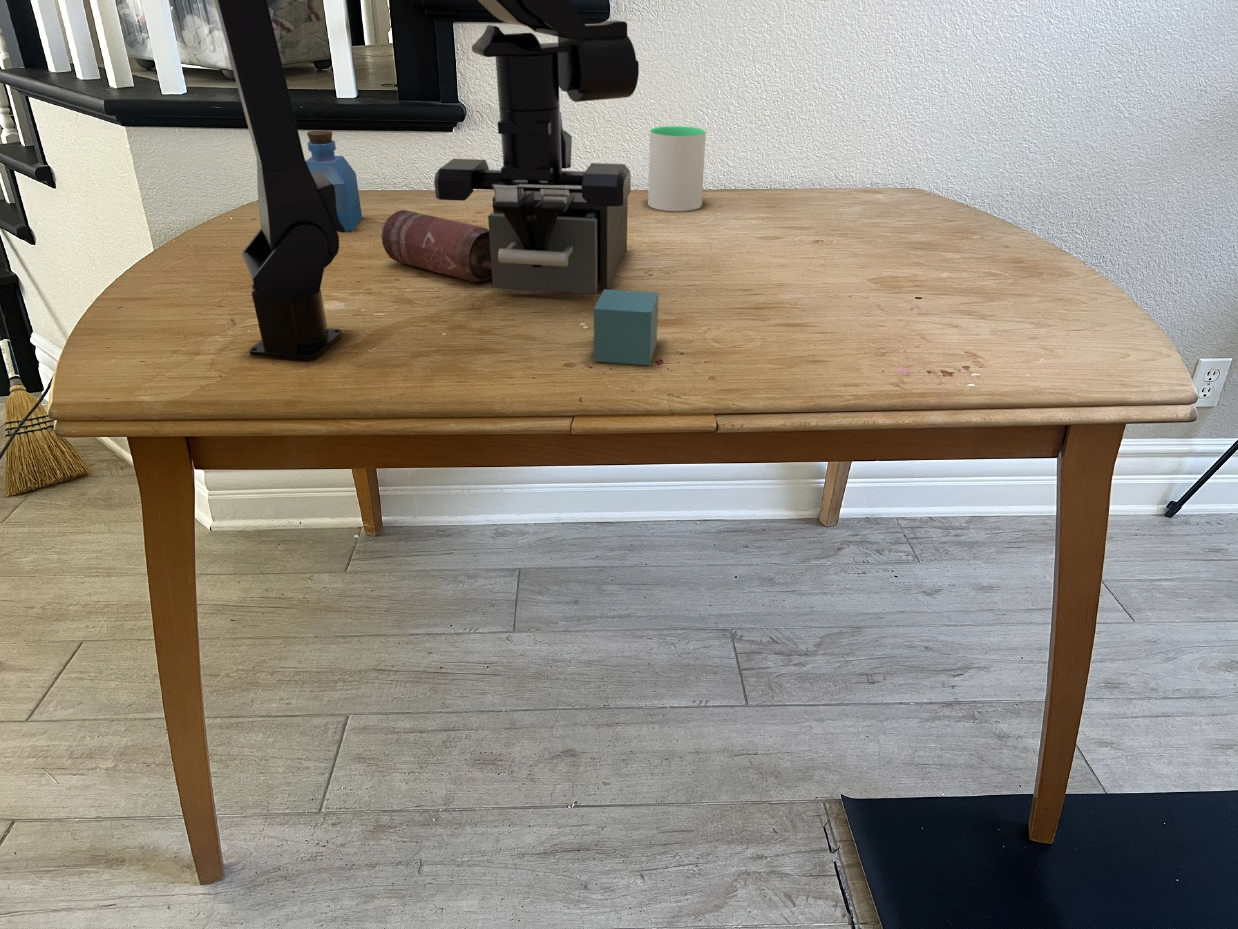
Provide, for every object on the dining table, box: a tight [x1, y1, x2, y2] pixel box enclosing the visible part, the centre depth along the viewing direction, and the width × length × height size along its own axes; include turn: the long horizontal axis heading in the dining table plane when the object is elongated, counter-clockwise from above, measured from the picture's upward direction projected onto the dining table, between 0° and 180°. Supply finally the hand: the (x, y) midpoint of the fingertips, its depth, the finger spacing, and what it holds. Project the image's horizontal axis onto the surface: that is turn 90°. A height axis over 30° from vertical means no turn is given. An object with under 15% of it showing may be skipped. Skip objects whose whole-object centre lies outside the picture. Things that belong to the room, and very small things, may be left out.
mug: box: [647, 125, 707, 212], centre depth 127 cm, size 12×8×10 cm, turn 14°
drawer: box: [487, 207, 600, 295], centre depth 94 cm, size 18×11×8 cm, turn 171°
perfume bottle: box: [305, 129, 363, 232], centre depth 114 cm, size 6×6×12 cm
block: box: [593, 288, 659, 367], centre depth 79 cm, size 5×5×5 cm
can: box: [381, 209, 492, 283], centre depth 99 cm, size 6×6×14 cm
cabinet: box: [492, 170, 629, 291], centre depth 100 cm, size 15×13×10 cm
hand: (538, 266), depth 89 cm, fingers closed, pressing on drawer
